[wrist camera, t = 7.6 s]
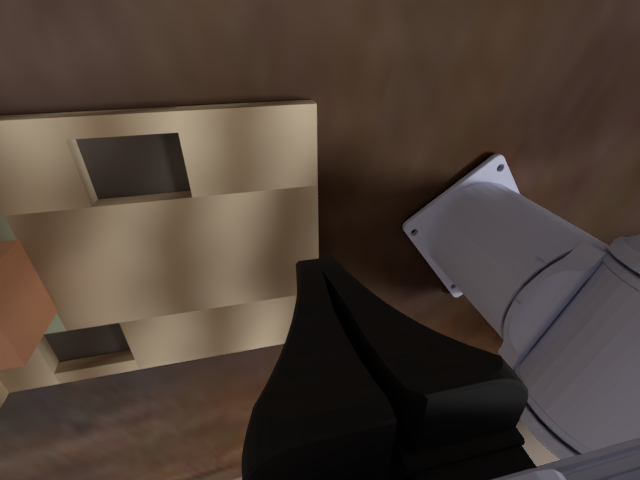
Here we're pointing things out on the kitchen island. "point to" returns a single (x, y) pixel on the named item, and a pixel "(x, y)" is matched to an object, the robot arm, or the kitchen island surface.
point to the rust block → (21, 306)
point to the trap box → (159, 231)
